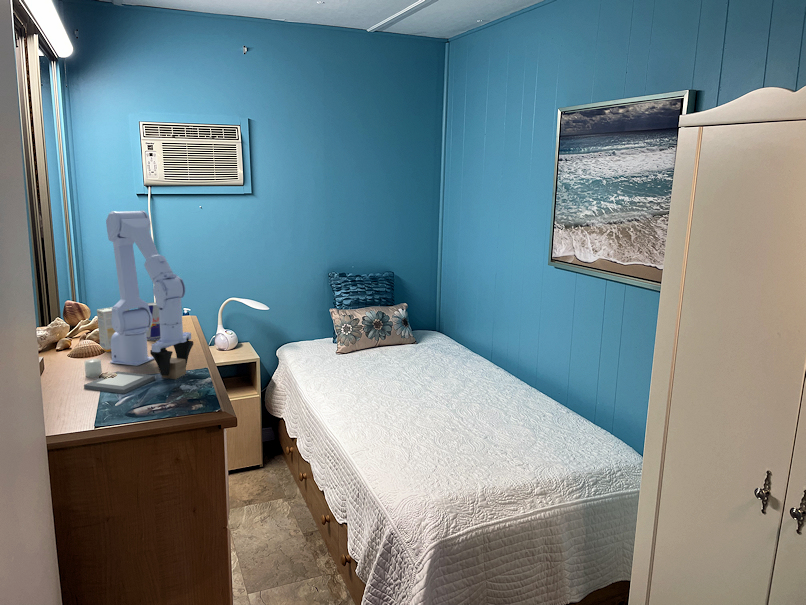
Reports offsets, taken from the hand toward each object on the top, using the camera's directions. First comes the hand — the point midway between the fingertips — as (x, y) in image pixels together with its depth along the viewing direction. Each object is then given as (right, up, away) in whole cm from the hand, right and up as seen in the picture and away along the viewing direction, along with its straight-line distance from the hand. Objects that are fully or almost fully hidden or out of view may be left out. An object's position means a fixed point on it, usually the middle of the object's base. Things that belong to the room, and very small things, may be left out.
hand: (173, 370), depth 164 cm
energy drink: (-22, +6, +38) cm, 45 cm away
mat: (-11, -3, -7) cm, 14 cm away
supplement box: (-28, +4, +26) cm, 39 cm away
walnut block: (0, -2, 0) cm, 2 cm away
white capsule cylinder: (-22, -1, 0) cm, 22 cm away
